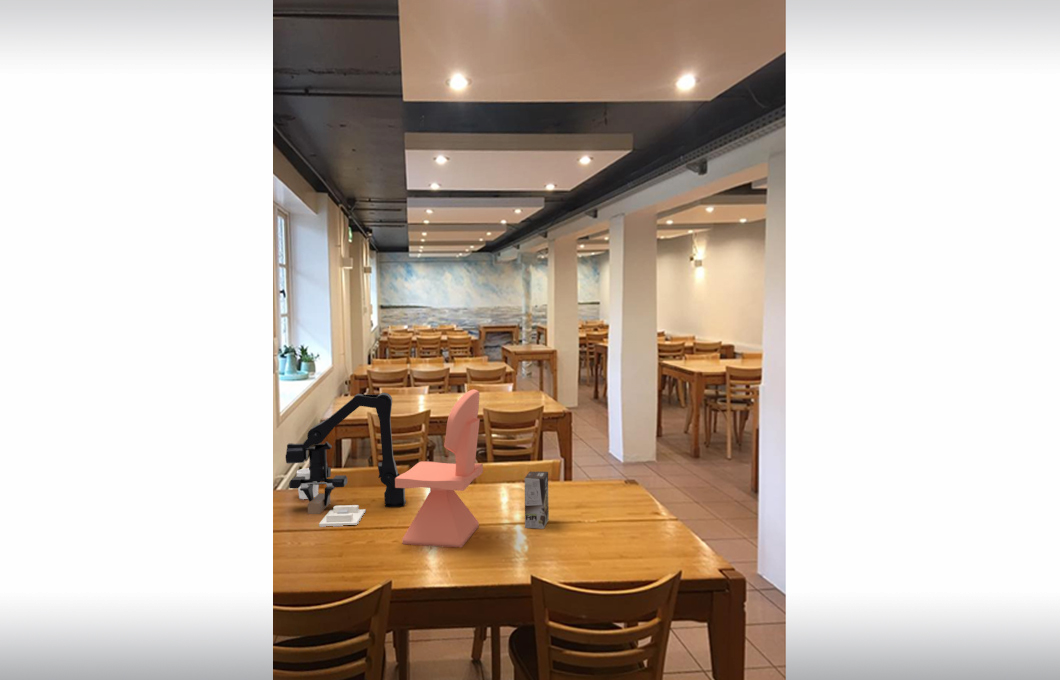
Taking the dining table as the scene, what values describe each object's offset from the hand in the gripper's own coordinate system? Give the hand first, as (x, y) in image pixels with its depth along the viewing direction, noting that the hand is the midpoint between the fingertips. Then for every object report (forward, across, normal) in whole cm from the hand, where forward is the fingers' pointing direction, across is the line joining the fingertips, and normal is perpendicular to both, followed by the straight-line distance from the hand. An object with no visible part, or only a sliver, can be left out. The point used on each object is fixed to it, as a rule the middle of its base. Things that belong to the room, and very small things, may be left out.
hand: (319, 506), depth 231 cm
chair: (+1, -46, +30) cm, 55 cm away
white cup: (+1, +8, -15) cm, 17 cm away
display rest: (+1, -11, +12) cm, 16 cm away
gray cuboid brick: (+1, 0, 0) cm, 1 cm away
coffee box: (+1, -75, +22) cm, 78 cm away
